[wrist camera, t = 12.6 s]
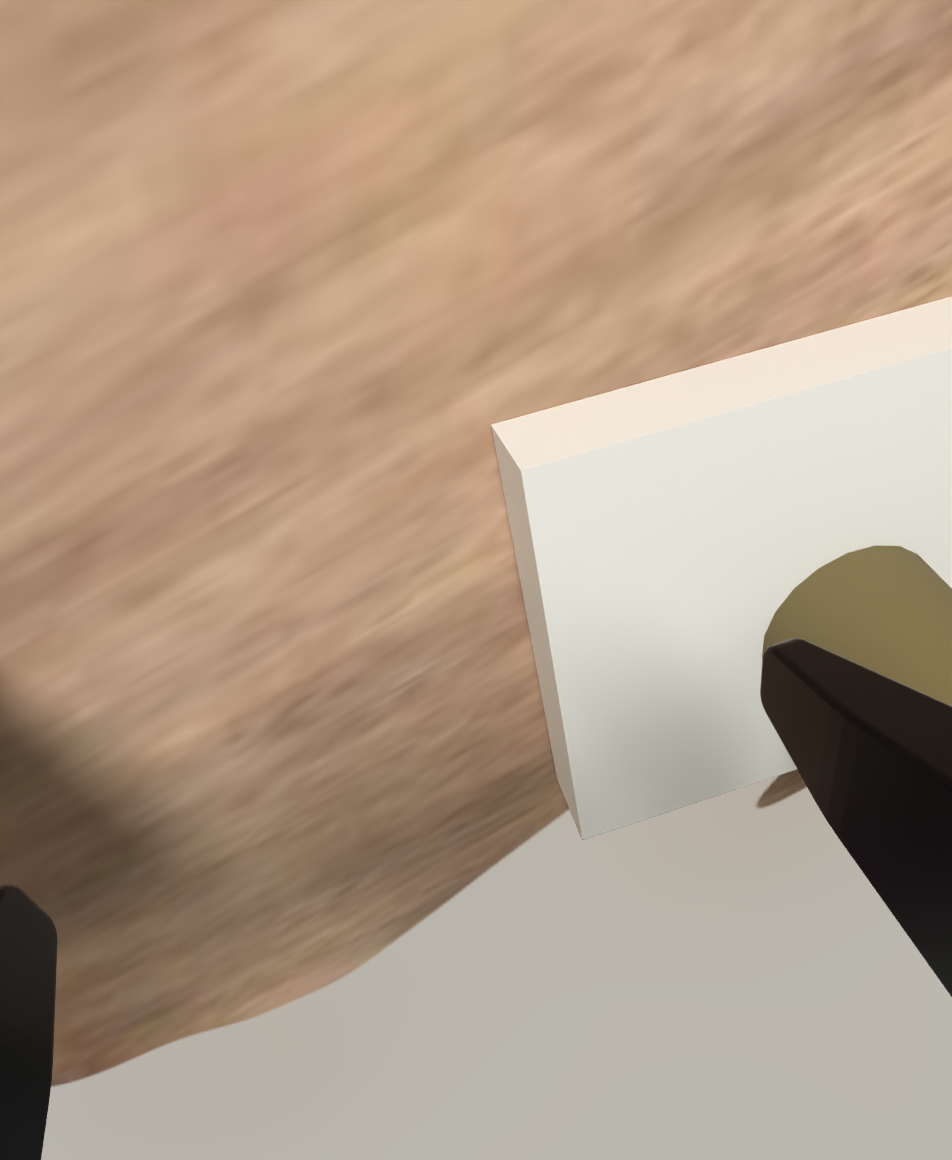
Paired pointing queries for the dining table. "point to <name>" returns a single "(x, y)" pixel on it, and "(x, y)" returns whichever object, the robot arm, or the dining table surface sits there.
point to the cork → (876, 617)
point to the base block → (712, 544)
